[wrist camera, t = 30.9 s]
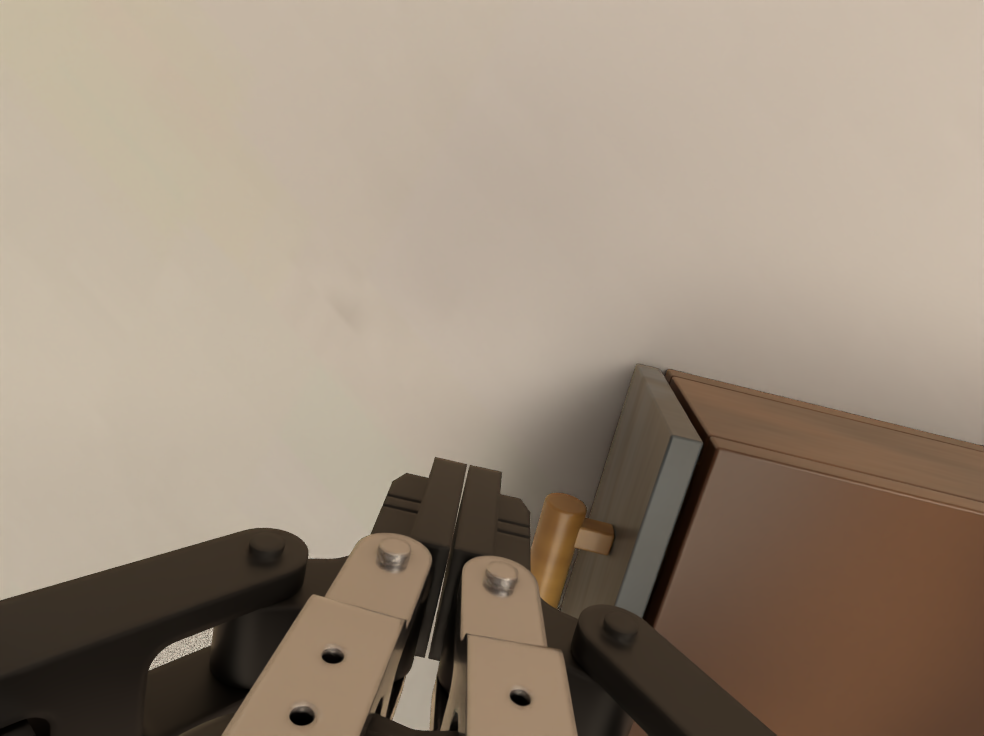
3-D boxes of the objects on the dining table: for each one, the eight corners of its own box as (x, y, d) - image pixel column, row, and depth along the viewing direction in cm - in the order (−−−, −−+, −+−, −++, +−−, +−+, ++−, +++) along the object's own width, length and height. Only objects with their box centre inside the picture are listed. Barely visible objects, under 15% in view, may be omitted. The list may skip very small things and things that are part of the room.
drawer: (475, 691, 26) (457, 846, 20) (571, 346, 22) (583, 413, 16) (946, 806, 26) (1065, 994, 20) (1123, 481, 22) (1333, 597, 16)
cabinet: (558, 706, 27) (564, 876, 20) (667, 368, 23) (716, 447, 16) (972, 806, 27) (1107, 1007, 20) (1150, 486, 23) (1387, 611, 16)
